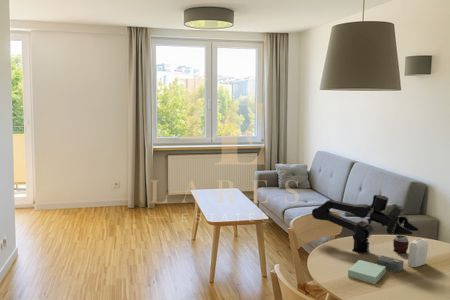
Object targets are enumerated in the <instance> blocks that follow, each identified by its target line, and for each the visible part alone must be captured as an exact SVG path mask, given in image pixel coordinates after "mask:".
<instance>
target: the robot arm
mask: <svg viewBox="0 0 450 300" xmlns="http://www.w3.org/2000/svg"><path fill="white" fill-rule="evenodd" d="M388 202H389V197H388V196H385V195H380V194H379V195H378V194H374V195H373V196H372V202H371V204H367V203H365V204H364V203H363V204H362V203H361V204H358V203H357V204H353V203H348V202H344V201H343V202H342V201H340V200H339V201H338V200H334V199H329V200H326V201H325V202H324V203H323V204H321V205H320V206H317V207H315V208H313V209H312V210H311V216H312V218H313V219H315V220H319V221H327V222H330V223H333V224H334V225H337V226H340V227H342V228H343V229H347V230H349V231H351V232H353V233H354V234H353V235H352V238H353V248H352V249H351V250H352V252H356V253H360V254H366V253H367V252H368V251H369V250H370V242H369V238H370V237H371V236H373V234H374V231H375V230H374V227H373V225H371V224H372V223H377V224H380V225H381V227H386V229H385V230H386V231H385V232H386V233H387V234H388V235H395V236H396V235H399V234H400V235H409V236H410V235H413V232H418V231H419V228H418V227H417V226H416V225H414V224H413V223H411V222H410V220H409V218H408V215H407V216H406V215H404V214H403V215H400V214H401V213H402V212H403V211H404V208H402V206H400V205H395V206H394V207H393V209H392V210H391V211H390V212H388V213H385V212H383V211H386V209H387V206H388ZM331 209H332V210H337V211H342V212H346V213H350V214H353V215H354V216H355V217H358V218H360V219H365V218H367V217H368V216H369V218H367V219H366V220H367V222H366V221H363V220H360V221H358V222H356V221H354V220H353V221H352V220H349V219H348V218H345V217H344V216H340V215H338V214H335V213H333V212H331ZM399 215H400V216H399Z"/></svg>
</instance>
